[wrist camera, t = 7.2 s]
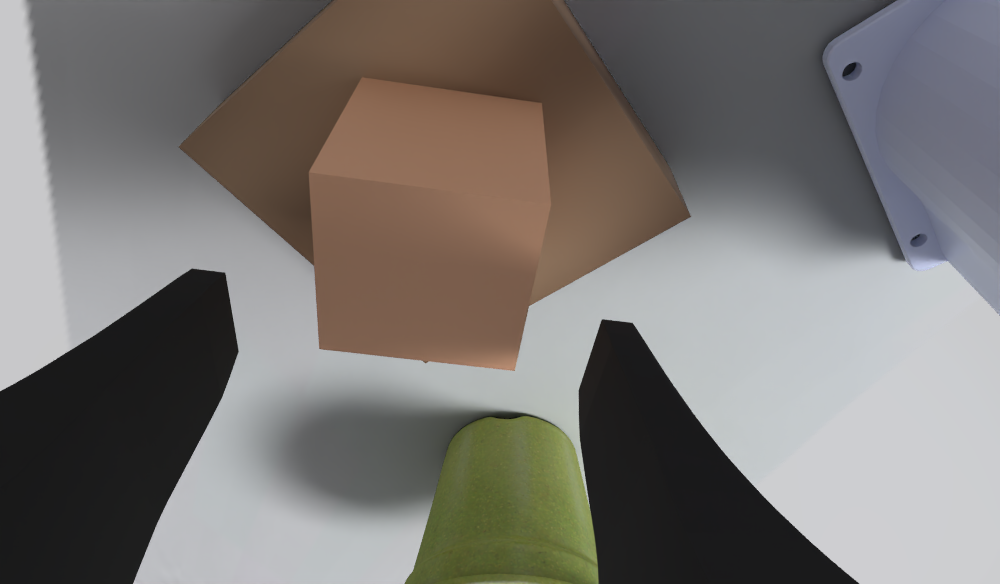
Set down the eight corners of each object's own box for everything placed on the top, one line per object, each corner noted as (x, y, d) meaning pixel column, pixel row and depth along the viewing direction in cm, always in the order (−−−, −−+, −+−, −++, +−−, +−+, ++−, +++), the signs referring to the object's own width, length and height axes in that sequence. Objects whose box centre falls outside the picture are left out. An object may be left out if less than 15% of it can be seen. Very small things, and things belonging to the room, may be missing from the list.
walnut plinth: (669, 167, 20) (691, 216, 17) (434, 307, 24) (425, 363, 21) (478, -135, 15) (471, -124, 13) (220, 103, 19) (178, 146, 16)
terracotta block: (542, 103, 15) (551, 204, 12) (514, 249, 18) (514, 370, 14) (362, 77, 15) (308, 172, 11) (362, 229, 18) (319, 349, 14)
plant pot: (373, 461, 30) (332, 655, 23) (492, 352, 25) (484, 556, 18) (522, 528, 33) (524, 714, 26) (651, 444, 29) (693, 644, 22)
